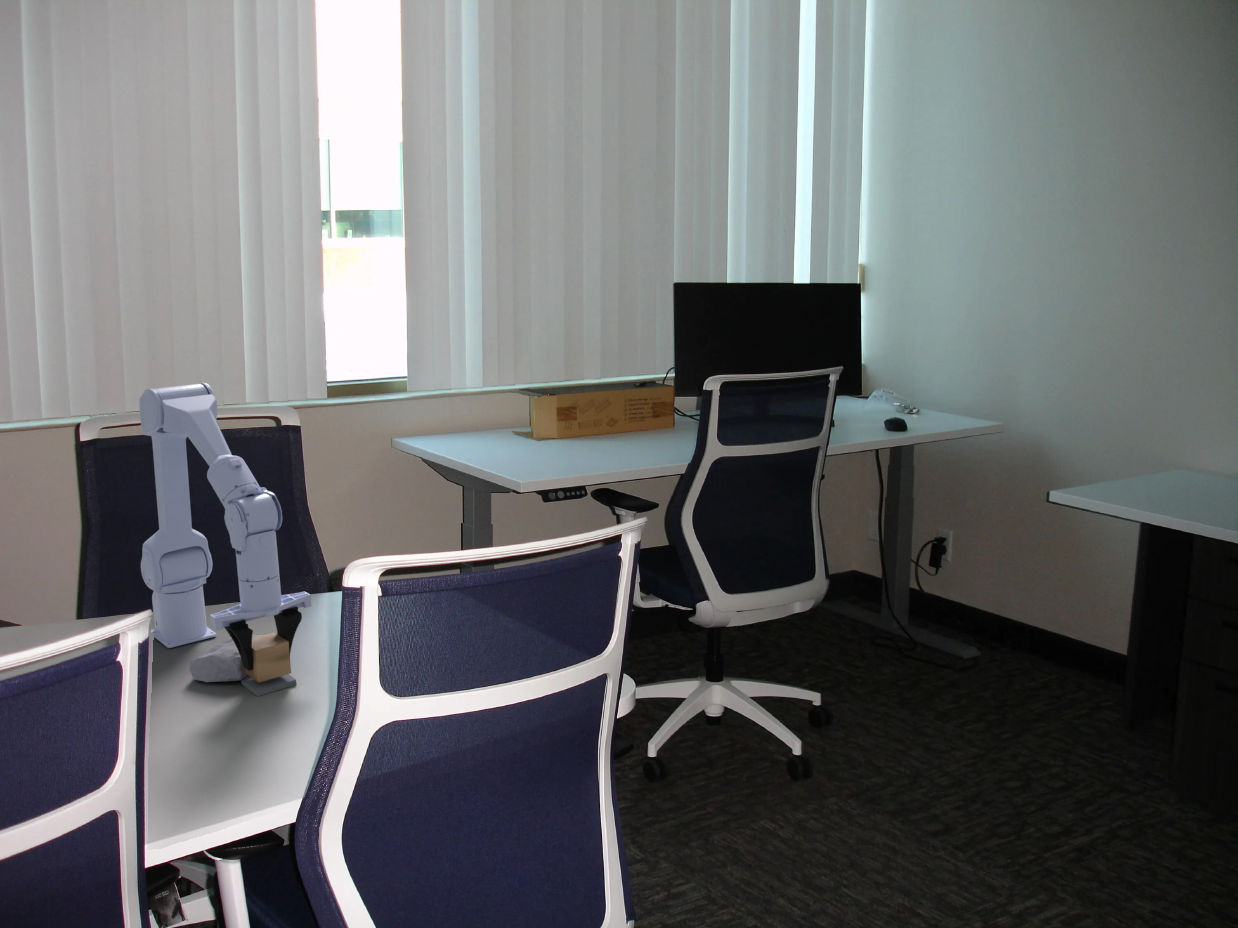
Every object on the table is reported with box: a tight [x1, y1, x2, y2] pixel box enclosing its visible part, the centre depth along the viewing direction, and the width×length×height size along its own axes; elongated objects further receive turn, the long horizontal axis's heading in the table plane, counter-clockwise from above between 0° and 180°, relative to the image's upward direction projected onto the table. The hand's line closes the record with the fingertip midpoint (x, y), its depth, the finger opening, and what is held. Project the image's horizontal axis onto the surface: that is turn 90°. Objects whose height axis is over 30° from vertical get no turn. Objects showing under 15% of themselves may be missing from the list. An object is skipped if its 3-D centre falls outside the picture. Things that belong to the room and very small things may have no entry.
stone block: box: [189, 634, 262, 683], centre depth 162 cm, size 12×5×10 cm
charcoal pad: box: [240, 674, 297, 697], centre depth 157 cm, size 6×6×1 cm
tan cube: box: [244, 631, 292, 683], centre depth 156 cm, size 5×5×5 cm
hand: (266, 662), depth 156 cm, fingers closed on tan cube, 5 cm apart
